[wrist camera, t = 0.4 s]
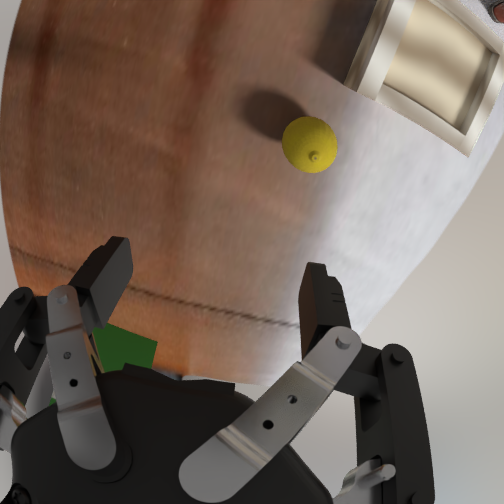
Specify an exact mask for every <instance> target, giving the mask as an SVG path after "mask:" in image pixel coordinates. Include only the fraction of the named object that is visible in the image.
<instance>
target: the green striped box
mask: <svg viewBox="0 0 504 504" xmlns="http://www.w3.org/2000/svg"><path fill="white" fill-rule="evenodd" d="M92 333H93V336H94V339H95V343H96V346H97V350H98V353H99V356H100V360H101V363H102V366H103V369H104V371H105V372H109V371H114V370H122V369H123V366H124V364H125V363H129V364H133V365H137V366H141V367H146V368H150V369H151V367H152V363H153V359H154V355H155V351H156V347H157V343H158V342H157V341H154V340H151V339H148V338H145V337H143V336H140V335H137V334H134V333H132V332H129V331H127V330H124V329H121V328H119V327H116V326H114V325H111V324H109V323H107V324H106V326H105V328H104V329H101V328H97V327H94V329H93V331H92ZM55 402H56V397H55V392H53V395H52V398H51V401H50V404H49V406H50V405H51V404H53V403H55Z"/></svg>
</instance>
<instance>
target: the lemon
mask: <svg viewBox="0 0 504 504" xmlns="http://www.w3.org/2000/svg"><path fill="white" fill-rule="evenodd" d="M282 148H283V151H284V154H285V156H286V158H287V159H288V161H289V162H290V163H291V164H292V165H293V166H294V167H295V168H297V169H299V170H301V171H304V172H308V173H316V172H320V171H323V170H325V169H326V168H328V167H329V166H330V165H331V164H332V162H333V161H334V159H335V157H336V154H337V139H336V137H335V134H334V132H333V130H332V129H331V128H330V126H329V125H328V124H326V123H325V122H324V121H323V120H320V119H318V118H316V117H310V116H306V117H300V118H297V119H295V120H294V121H292V122H291V123H290V124H289V125H288V126H287V127H286V129H285V131H284V133H283V137H282Z"/></svg>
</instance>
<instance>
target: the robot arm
mask: <svg viewBox="0 0 504 504" xmlns="http://www.w3.org/2000/svg"><path fill="white" fill-rule="evenodd" d="M132 273H133V262H132V255H131V249H130V242H129V239H128V238H124V237H116V236H112V237H111V238H110V239H109V240H108V242H107V243H106V244H105V245H104V246H103V245H101V246H100V247H98V248H97V249H95V250H94V251H93V252H92V253H91V254H90V255H89V257H88V258H87V260H86V261H85V262H84V263H83V266H81V267H80V269H79V270H78V271H77V273H76V274H75V275H74V277H73V278H72V279H71V281H70V282H69V284H68V285H61V286H58V287H56V288H54V289H53V290H52V291H51V292H50V293H49V295H48V296H34V294H33V292H32V290H31V289H30V288H28V287H20V288H18V289H16V290H14V291H13V292H12V293H11V294H10V295H9V297H8V298H7V300H6V301H5V302H4V304H3V305H2V307H1V308H0V450H2V451H3V450H5V451H7V452H9V453H11V458H12V468H13V478H12V486H11V489H10V491H9V492H8V494H7V495H6V497H5V498H4V499H3V501H2V502H1V503H0V504H434V501H435V490H434V478H433V467H432V459H431V450H430V443H429V437H428V430H427V424H426V418H425V413H424V407H423V402H422V397H421V393H420V388H419V383H418V379H417V375H416V370H415V366H414V363H413V358H412V356H411V354H410V352H409V351H408V350H407V349H406V348H405V347H403V346H401V345H398V344H388V345H386V346H385V347H384V348H383V349H382V350H380V349H377V348H373V347H371V346H368V345H365V344H363V343H362V342H361V339H360V337H359V335H358V334H357V333H356V332H355V331H353V330H352V329H351V325H350V320H349V316H348V311H347V307H346V303H345V298H344V296H343V290H342V286H341V284H340V283H339V282H338V280H337V279H336V278H335V277H332V276H328V275H327V270H326V266H325V264H320V263H313V262H308V263H307V265H306V269H305V272H304V276H303V279H302V283H301V286H300V290H299V298H298V304H299V319H300V335H301V353H302V361H301V362H298V361H297V362H296V363H294V364H293V365H292V366H291V367H290V368H289V369H288V370H287V371H286V372H285V373H284V374H283V375H282V376H281V377H280V378H279V379H278V380H277V381H276V382H275V383H274V384H273V385H272V386H271V387H270V388H269V389H268V390H267V391H266V392H265V393H264V394H263V395H262V396H261V397H260V398H259V399H258V400H257V401H256V402H254V401H253V400H252V399H250V398H248V397H247V396H245V395H243V394H241V393H239V392H236V391H234V390H235V383H229V382H221V381H214V380H207V379H203V380H182V381H177V380H174V379H171V378H169V377H167V376H165V375H163V374H161V373H158V372H156V371H154V370H152V369H150V368H146V367H141V366H137V365H133V364H129V363H125V364H124V366H123V369H122V370H114V371H109V372H105V371H104V369H103V366H102V363H101V360H100V356H99V353H98V350H97V346H96V343H95V339H94V336H93V333H92V331H93V329H94V327H97V328H101V329H104V328H105V326H106V324H107V322H108V320H109V318H110V316H111V314H112V312H113V310H114V308H115V306H116V304H117V303H118V301H119V299H120V297H121V295H122V293H123V292H124V290H125V288H126V286H127V284H128V282H129V281H130V279H131V277H132ZM22 331H23V333H24V334H25V336H24V338H23V339H22V341H21V343H20V345H19V347H18V349H17V351H16V353H15V350H14V346H15V343H16V341H17V339H18V337H19V335H20V334H21V332H22ZM47 353H48V359H49V365H50V371H51V377H52V382H53V387H54V392H55V397H56V402H55V403H53V404H51V405H50V406H48V407H47V408H45V409H43V410H42V411H40V412H38V413H37V414H35V415H34V416H32V417H30V418H29V419H27V418H26V408H25V404H26V402H27V399H28V397H29V394H30V392H31V389H32V387H33V384H34V382H35V380H36V377H37V375H38V373H39V370H40V368H41V366H42V364H43V362H44V360H45V357H46V355H47ZM333 390H336V391H340V392H343V393H346V394H349V395H352V396H354V404H355V420H356V439H357V440H356V441H357V467H356V468H354V469H352V470H351V471H349V472H348V473H347V475H346V476H345V478H344V480H343V485H342V489H341V491H340V493H339V494H338V495H337V496H336V497H335V498H333V499H332V497H331V495H330V493H329V491H328V490H327V489H326V487H325V486H324V485H323V484H322V483H321V481H320V480H319V479H318V478H317V477H316V476H315V475H314V473H313V472H312V471H311V470H310V469H309V467H308V466H307V465H306V464H305V463H304V462H303V460H302V459H301V458H300V456H299V455H298V454H297V453H296V452H295V450H294V449H293V448H292V447H291V446H290V443H291V442H292V440H294V439H295V438H296V436H297V435H298V434H299V433H300V432H301V431H302V429H303V428H304V427H305V426H306V425H307V423H308V422H309V421H310V419H311V418H312V417H313V416H314V415H315V413H316V412H317V411H318V410H319V408H320V407H321V406H322V405H323V403H324V402H325V401H326V400H327V398H328V397H329V396H330V394H331V393H332V392H333Z"/></svg>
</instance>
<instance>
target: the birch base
mask: <svg viewBox="0 0 504 504" xmlns="http://www.w3.org/2000/svg"><path fill="white" fill-rule="evenodd" d="M503 82H504V42H503V41H502V40H501V39H500V38H499V37H498V36H497V35H496V34H495V33H494V32H493V31H492V30H491V29H490V28H489V27H488V26H487V25H486V24H485V23H484V22H483V21H482V20H481V19H480V18H478V17H477V16H476V15H475V14H474V13H473V12H472V11H470V10H469V9H468V8H467V7H466V6H465V5H463V4H462V3H461V2H460V1H458V0H377V2H376V5H375V7H374V10H373V12H372V15H371V17H370V20H369V22H368V25H367V27H366V30H365V32H364V35H363V37H362V40H361V42H360V45H359V47H358V50H357V52H356V55H355V57H354V59H353V62H352V64H351V67H350V69H349V72H348V74H347V76H346V79H345V81H344V84H343V85H345V86H346V87H348V88H350V89H352V90H354V91H355V92H357V93H359V94H362V95H364V96H366V97H368V98H370V99H372V100H374V101H376V102H378V103H380V104H382V105H384V106H386V107H388V108H390V109H392V110H393V111H395V112H397V113H399V114H401V115H403V116H404V117H406V118H408V119H410V120H411V121H413V122H415V123H416V124H418V125H420V126H422V127H423V128H425V129H426V130H428V131H430V132H431V133H433V134H434V135H436V136H438V137H439V138H441V139H442V140H444V141H445V142H447V143H448V144H450V145H451V146H453V147H454V148H455V149H457V150H458V151H460V152H461V153H462V154H464V155H465V156H467V157H469V155H470V153H471V151H472V150H473V148H474V146H475V144H476V142H477V140H478V138H479V136H480V134H481V132H482V130H483V128H484V126H485V124H486V121H487V119H488V117H489V115H490V113H491V111H492V108H493V106H494V104H495V101H496V99H497V97H498V94H499V92H500V89H501V87H502V84H503Z"/></svg>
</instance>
